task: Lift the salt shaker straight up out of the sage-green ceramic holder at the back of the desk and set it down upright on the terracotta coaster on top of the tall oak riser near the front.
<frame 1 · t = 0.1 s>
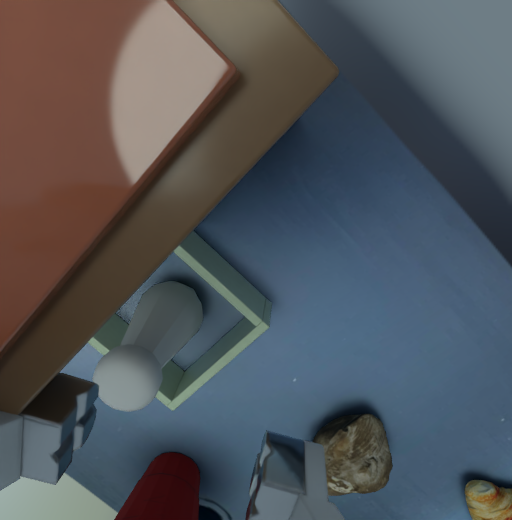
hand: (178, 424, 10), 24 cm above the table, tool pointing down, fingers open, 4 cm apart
holder: (178, 301, 36), on the table
riser: (193, 119, 31), on the table
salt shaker: (178, 300, 36), resting in holder
fossilized seashell: (343, 438, 40), on the table
plastic cup: (177, 469, 43), on the table
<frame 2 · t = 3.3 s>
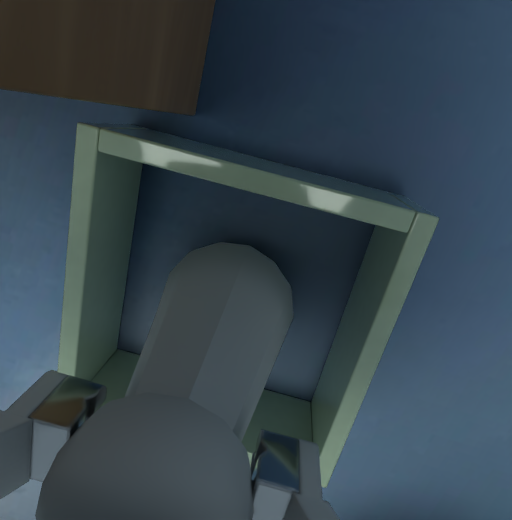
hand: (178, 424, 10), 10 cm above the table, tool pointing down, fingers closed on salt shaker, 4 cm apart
holder: (235, 285, 19), on the table
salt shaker: (236, 284, 19), resting in holder, touching gripper
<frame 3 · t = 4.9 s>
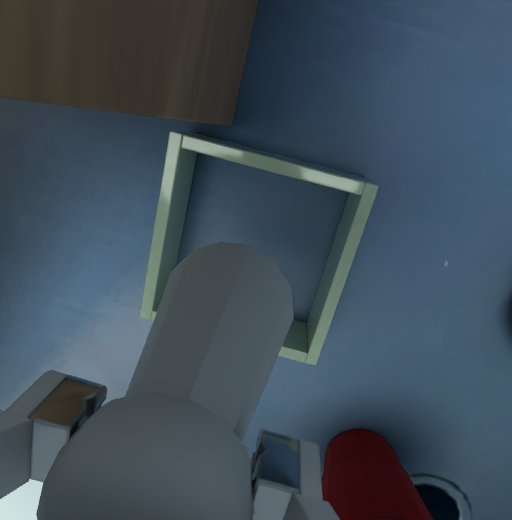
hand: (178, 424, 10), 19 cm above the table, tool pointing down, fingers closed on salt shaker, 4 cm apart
holder: (255, 239, 28), on the table
riser: (161, 5, 24), on the table
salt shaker: (236, 284, 19), point 10 cm above the table, touching gripper
plastic cup: (360, 451, 34), on the table
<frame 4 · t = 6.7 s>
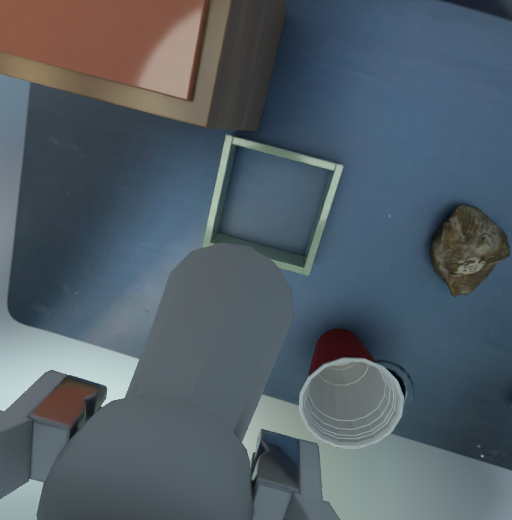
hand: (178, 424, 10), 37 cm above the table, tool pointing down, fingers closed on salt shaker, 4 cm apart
holder: (271, 201, 46), on the table
riser: (218, 60, 41), on the table
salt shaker: (236, 284, 19), point 28 cm above the table, touching gripper
fossilized seashell: (456, 246, 45), on the table
plastic cup: (339, 345, 51), on the table
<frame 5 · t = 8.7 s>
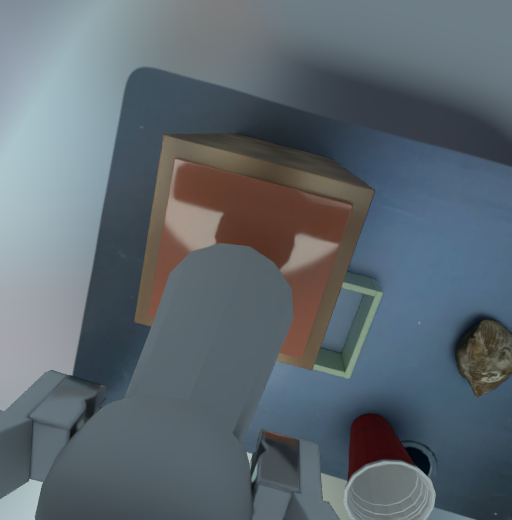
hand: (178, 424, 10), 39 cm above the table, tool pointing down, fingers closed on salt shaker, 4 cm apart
holder: (314, 308, 52), on the table
coaster: (243, 262, 23), resting on riser
riser: (271, 195, 47), on the table
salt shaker: (236, 285, 19), point 30 cm above the table, touching gripper
fossilized seashell: (478, 348, 51), on the table
plastic cup: (371, 427, 57), on the table
when the fingers open (36 cm above the table, at t = 10.1 s): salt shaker stays where it is, resting on coaster.
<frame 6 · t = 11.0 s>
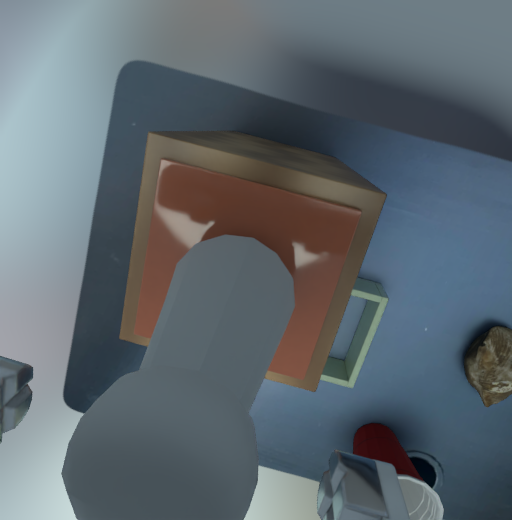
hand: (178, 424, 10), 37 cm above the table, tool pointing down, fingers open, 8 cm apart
holder: (316, 314, 49), on the table
coaster: (239, 274, 20), resting on riser
riser: (271, 195, 45), on the table
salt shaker: (240, 276, 20), point 26 cm above the table, touching coaster
fossilized seashell: (487, 356, 49), on the table
plastic cup: (374, 436, 55), on the table
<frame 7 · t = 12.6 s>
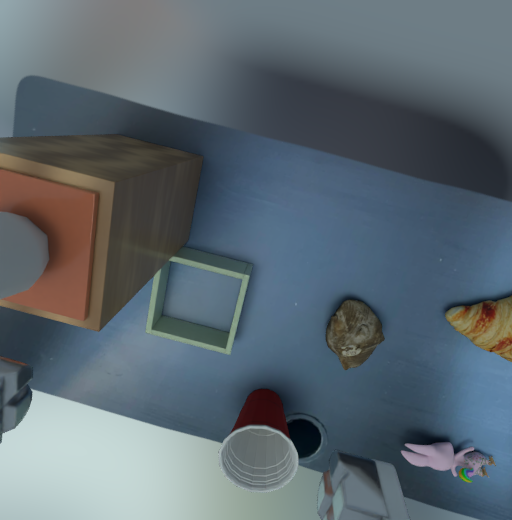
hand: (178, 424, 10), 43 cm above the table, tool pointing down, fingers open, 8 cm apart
holder: (202, 292, 57), on the table
coaster: (28, 242, 28), resting on riser
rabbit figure: (442, 447, 62), on the table
riser: (153, 189, 53), on the table
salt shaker: (25, 243, 28), point 26 cm above the table, touching coaster
fossilized seashell: (350, 327, 56), on the table
plastic cup: (265, 401, 62), on the table
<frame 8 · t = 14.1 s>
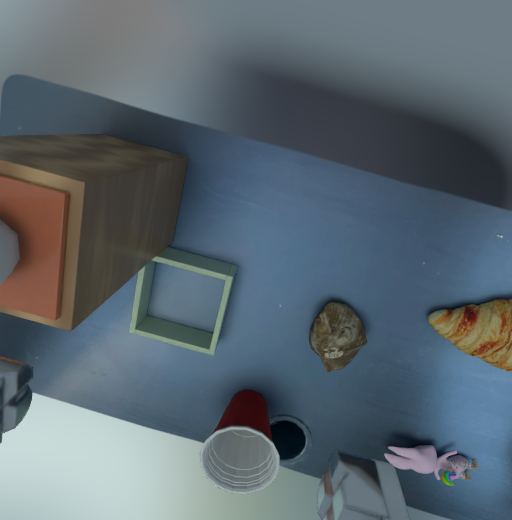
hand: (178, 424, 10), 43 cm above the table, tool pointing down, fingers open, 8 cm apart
holder: (187, 292, 57), on the table
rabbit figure: (426, 450, 62), on the table
riser: (138, 189, 53), on the table
fossilized seashell: (334, 329, 56), on the table
plastic cup: (249, 402, 62), on the table
croissant: (500, 323, 54), on the table
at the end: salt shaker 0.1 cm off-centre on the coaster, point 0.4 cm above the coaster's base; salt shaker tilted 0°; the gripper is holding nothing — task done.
